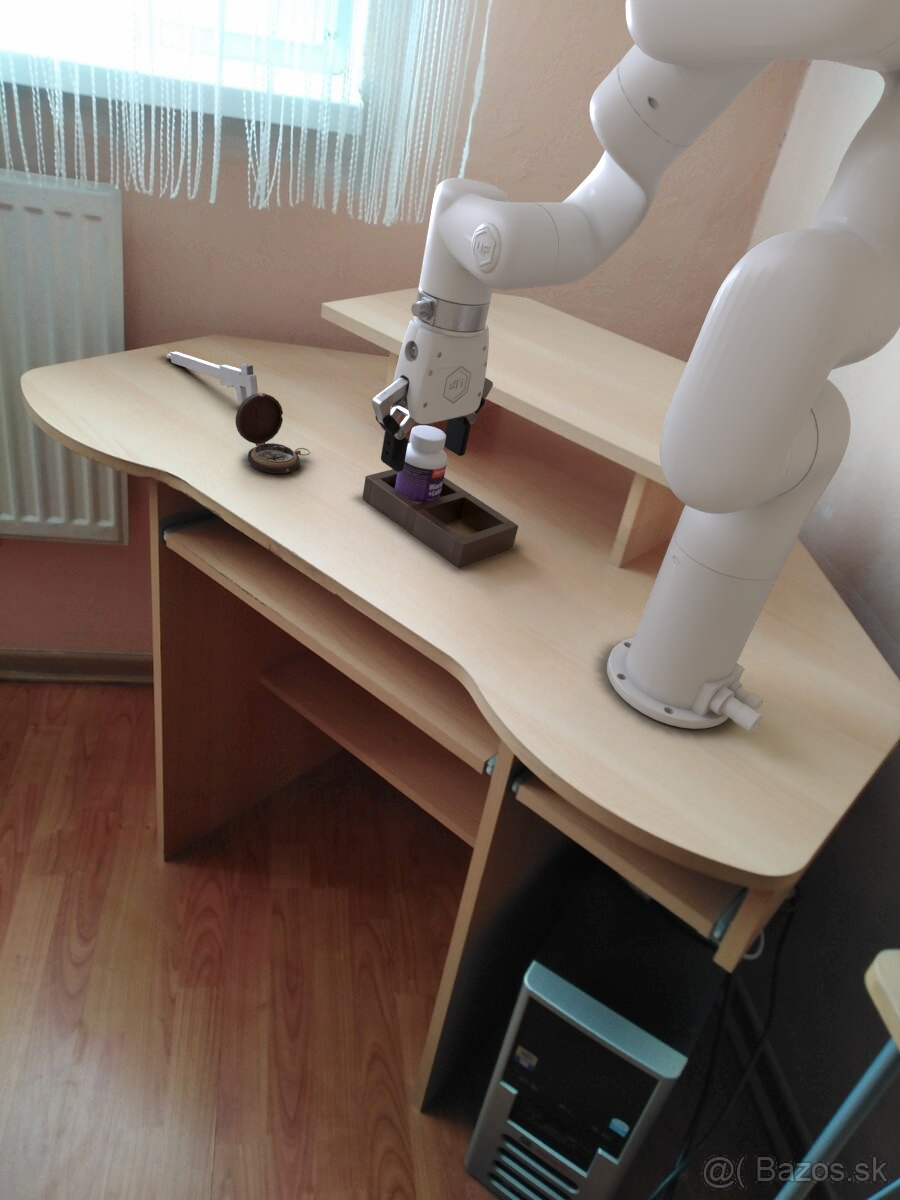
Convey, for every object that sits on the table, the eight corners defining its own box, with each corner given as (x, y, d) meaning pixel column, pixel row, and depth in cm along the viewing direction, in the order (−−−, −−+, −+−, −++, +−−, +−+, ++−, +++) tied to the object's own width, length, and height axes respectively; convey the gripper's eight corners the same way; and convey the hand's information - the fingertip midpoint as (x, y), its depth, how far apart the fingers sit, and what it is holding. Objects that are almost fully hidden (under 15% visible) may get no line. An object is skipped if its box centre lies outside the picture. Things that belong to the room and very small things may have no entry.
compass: (264, 479, 104) (269, 421, 100) (231, 449, 109) (234, 393, 105) (322, 468, 109) (328, 413, 105) (288, 440, 114) (293, 386, 110)
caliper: (256, 413, 118) (259, 368, 115) (249, 415, 118) (252, 370, 114) (171, 357, 129) (172, 314, 125) (165, 358, 128) (165, 315, 124)
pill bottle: (431, 523, 103) (446, 447, 98) (386, 511, 104) (399, 435, 98) (441, 503, 108) (456, 429, 102) (398, 492, 108) (411, 418, 103)
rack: (512, 547, 102) (518, 525, 100) (458, 568, 96) (463, 544, 95) (417, 483, 111) (421, 461, 109) (362, 498, 105) (365, 475, 103)
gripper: (414, 331, 85) (387, 488, 95) (531, 316, 96) (497, 459, 106) (364, 303, 89) (343, 457, 98) (483, 293, 100) (454, 432, 110)
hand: (423, 458), depth 102 cm, fingers open, 9 cm apart
